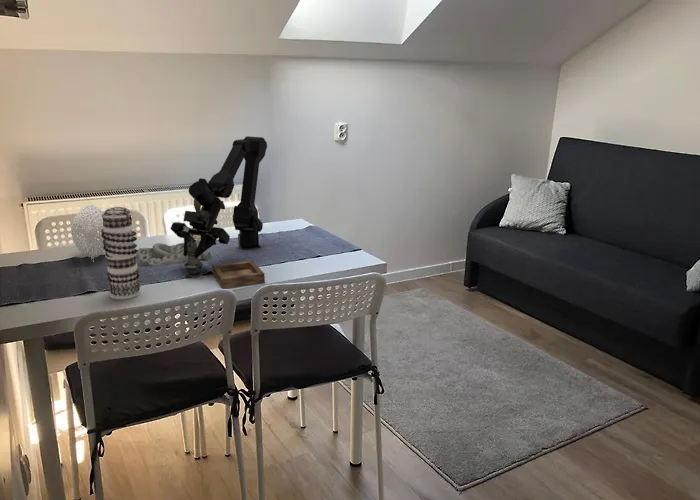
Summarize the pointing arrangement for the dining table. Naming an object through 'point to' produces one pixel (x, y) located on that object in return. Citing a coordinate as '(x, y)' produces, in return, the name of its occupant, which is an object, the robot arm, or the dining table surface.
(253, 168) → the robot arm
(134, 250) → the decorative candle
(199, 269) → the stone chess piece
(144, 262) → the wall plaque
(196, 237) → the hand bell
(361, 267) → the dining table surface
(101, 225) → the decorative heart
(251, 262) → the walnut tray
